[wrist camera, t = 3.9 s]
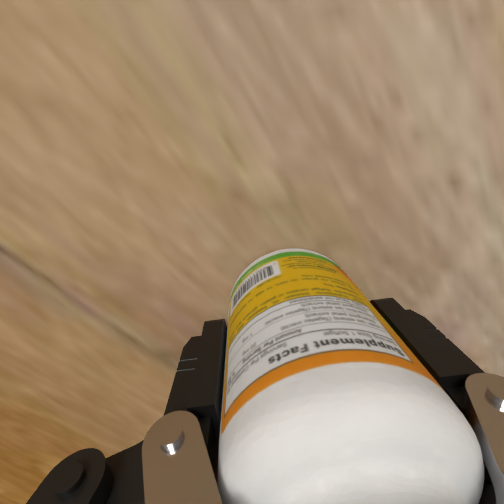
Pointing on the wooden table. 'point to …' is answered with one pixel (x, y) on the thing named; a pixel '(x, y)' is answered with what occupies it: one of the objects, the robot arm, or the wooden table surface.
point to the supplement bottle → (332, 399)
